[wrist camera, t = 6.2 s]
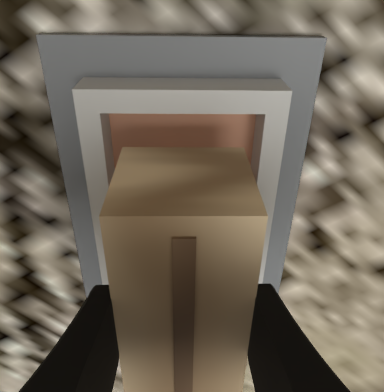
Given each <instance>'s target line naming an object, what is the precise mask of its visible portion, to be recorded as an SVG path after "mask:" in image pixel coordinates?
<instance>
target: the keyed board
mask: <svg viewBox="0 0 384 392" xmlns="http://www.w3.org/2000/svg"><path fill="white" fill-rule="evenodd" d="M36 37H37V43H38V48H39V53H40V58H41V64H42V69H43V74H44V79H45V84H46V90H47V95H48V100H49V105H50V110H51V116H52V121H53V126H54V131H55V136H56V142H57V147H58V152H59V157H60V163H61V168H62V173H63V178H64V183H65V189H66V194H67V199H68V204H69V209H70V215H71V220H72V225H73V230H74V235H75V241H76V246H77V251H78V256H79V261H80V267H81V272H82V277H83V282H84V288H85V293H86V298H87V297H88V295H89V293H90V291H91V290H92V288H93V287H94V286H95V285H109V283H108V276H107V269H106V262H105V255H104V248H103V241H102V234H101V227H100V220H99V215H100V212H101V209H102V206H103V203H104V200H105V197H106V194H107V191H108V188H109V185H110V182H111V179H112V177H113V174H114V171H115V168H116V165H117V162H118V159H119V156H120V153H121V150H122V147H244V149H245V152H246V155H247V158H248V160H249V163H250V166H251V169H252V172H253V175H254V177H255V180H256V183H257V186H258V189H259V192H260V194H261V197H262V200H263V203H264V206H265V209H266V212H267V214H268V220H267V227H266V234H265V241H264V248H263V254H262V261H261V268H260V275H259V281H258V284H269V283H270V284H271V285H273V286H274V288H275V290H276V292H277V293H278V292H279V287H280V282H281V277H282V271H283V266H284V261H285V255H286V250H287V245H288V240H289V234H290V229H291V224H292V219H293V213H294V208H295V203H296V198H297V192H298V187H299V182H300V176H301V171H302V166H303V161H304V155H305V150H306V145H307V140H308V134H309V129H310V124H311V119H312V113H313V108H314V103H315V98H316V92H317V87H318V82H319V76H320V71H321V66H322V61H323V55H324V50H325V45H326V40H327V38H326V37H324V36H253V35H163V34H73V33H39V34H37V35H36Z"/></svg>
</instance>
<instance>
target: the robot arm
mask: <svg viewBox="0 0 384 392" xmlns="http://www.w3.org/2000/svg"><path fill="white" fill-rule="evenodd" d="M247 353H248V361H249V366H250V370H251V375H252V379H253V383H254V388H255V392H350V391H349V389H348V388H347V387H346V386H345V385H344V384H343V383H342V381H341V380H340V379H339V378H338V377H337V375H336V374H335V373H334V372H333V371H332V369H331V368H330V367H329V366H328V364H327V363H326V362H325V361H324V359H323V358H322V357H321V356H320V354H319V353H318V352H317V350H316V349H315V348H314V346H313V345H312V344H311V342H310V341H309V340H308V338H307V337H306V335H305V334H304V333H303V331H302V330H301V329H300V327H299V326H298V324H297V323H296V321H295V320H294V318H293V317H292V315H291V314H290V312H289V311H288V309H287V308H286V306H285V305H284V303H283V301H282V300H281V298H280V297H279V295H278V293H277V292H276V290H275V288H274V286H273V285H271V284H270V283H269V284H258V288H257V295H256V298H255V305H254V311H253V318H252V325H251V332H250V339H249V346H248V352H247ZM118 361H119V349H118V342H117V335H116V328H115V321H114V314H113V307H112V300H111V297H110V290H109V285H95V286H94V287H93V288H92V290H91V291H90V293H89V295H88V297H87V298H86V300H85V302H84V303H83V305H82V307H81V308H80V310H79V311H78V313H77V314H76V316H75V317H74V319H73V320H72V322H71V324H70V325H69V326H68V328H67V329H66V331H65V332H64V334H63V335H62V336H61V338H60V339H59V341H58V342H57V344H56V345H55V346H54V348H53V349H52V350H51V352H50V353H49V354H48V356H47V357H46V358H45V360H44V361H43V362H42V363H41V365H40V366H39V367H38V369H37V370H36V371H35V372H34V374H33V375H32V376H31V377H30V379H29V380H28V381H27V382H26V383H25V385H24V386H23V387H22V388H21V389H20V391H19V392H112V389H113V385H114V380H115V376H116V371H117V367H118Z"/></svg>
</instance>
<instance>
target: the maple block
mask: <svg viewBox="0 0 384 392" xmlns="http://www.w3.org/2000/svg"><path fill="white" fill-rule="evenodd" d="M99 220H100V227H101V234H102V241H103V248H104V255H105V262H106V269H107V276H108V283H109V290H110V297H111V300H112V307H113V314H114V321H115V328H116V335H117V342H118V349H119V359H120V366H121V373H122V380H123V387H124V392H242V390H243V383H244V376H245V370H246V363H247V356H248V353H247V352H248V346H249V339H250V332H251V325H252V318H253V311H254V305H255V298H256V295H257V288H258V281H259V275H260V268H261V261H262V254H263V248H264V241H265V234H266V227H267V220H268V214H267V212H266V209H265V206H264V203H263V200H262V197H261V194H260V192H259V189H258V186H257V183H256V180H255V177H254V175H253V172H252V169H251V166H250V163H249V160H248V158H247V155H246V152H245V149H244V147H122V150H121V153H120V156H119V159H118V162H117V165H116V168H115V171H114V174H113V177H112V179H111V182H110V185H109V188H108V191H107V194H106V197H105V200H104V203H103V206H102V209H101V212H100V215H99Z"/></svg>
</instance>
